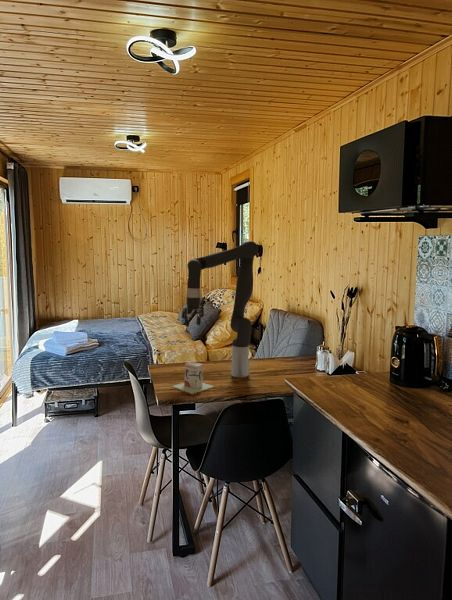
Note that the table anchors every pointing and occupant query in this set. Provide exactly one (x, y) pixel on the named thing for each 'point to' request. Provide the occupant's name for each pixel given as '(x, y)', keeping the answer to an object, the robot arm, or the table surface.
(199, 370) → the ink box
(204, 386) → the mat
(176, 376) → the table surface
